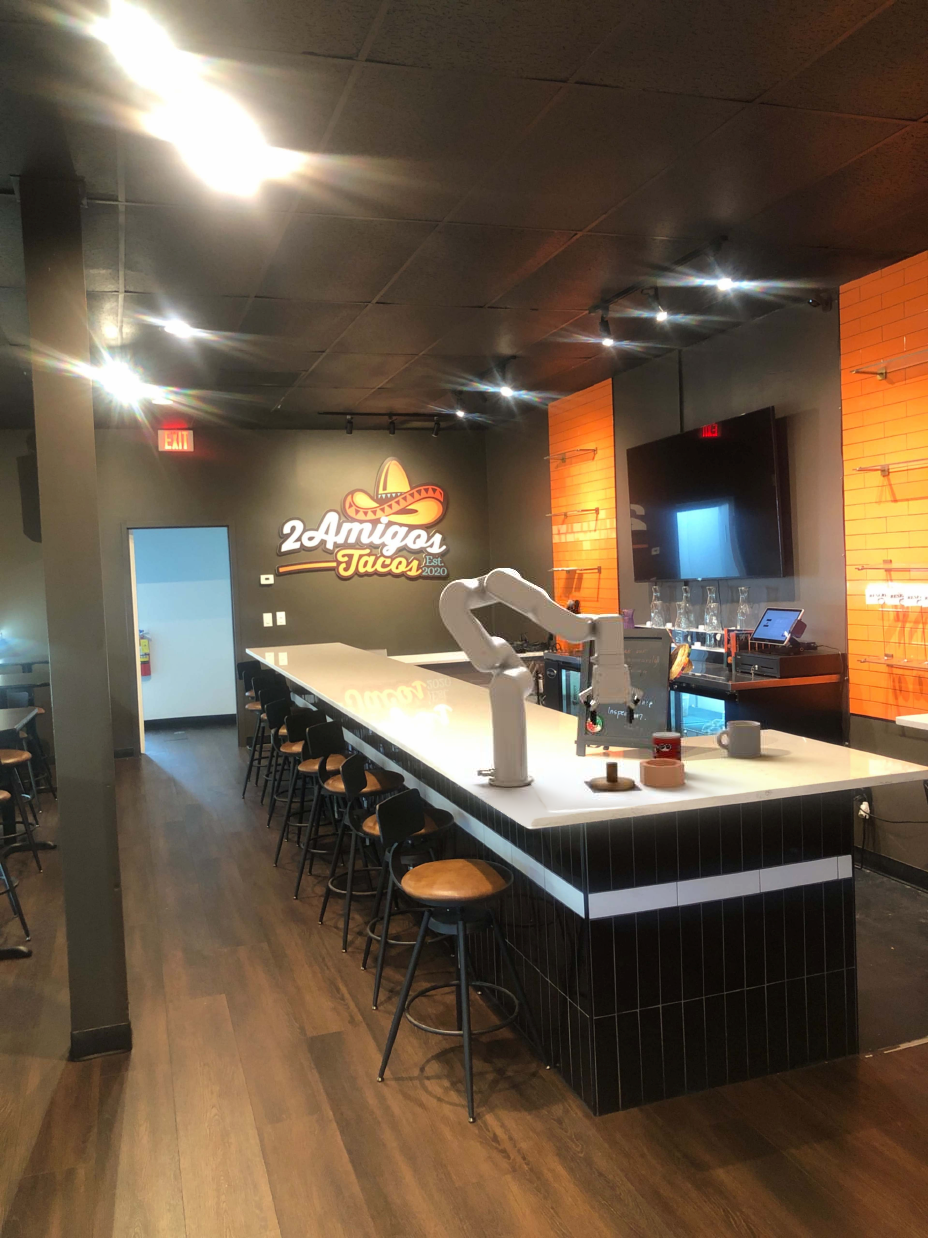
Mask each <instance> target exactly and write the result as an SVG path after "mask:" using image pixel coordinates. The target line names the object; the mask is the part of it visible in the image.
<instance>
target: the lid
mask: <svg viewBox="0 0 928 1238" xmlns="http://www.w3.org/2000/svg"><path fill="white" fill-rule="evenodd" d="M605 767H606V768H605V769H606V770H605V771H606V773H605V774H606V776H599V777H593V778H591V779H589V781H590V787H591V788H593V789H597V790H603V791H623V792H625V791H624V790H629V789H632V788H634V787H635V784H636V781H635V780H634V779H632V778H629V777H624V776H618V775H619V774H618V773H619V772H618V771H619V770H618V762H616V761H607V762H605Z"/></svg>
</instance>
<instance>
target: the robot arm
mask: <svg viewBox="0 0 928 1238" xmlns="http://www.w3.org/2000/svg"><path fill="white" fill-rule="evenodd" d="M499 602H500V603H502V604H504V605H506V606H508V607H509V608H512V609H513V610H515V611H516V612H519V613H520V614H523V616H526V617H528V618H529V619H530V620H531V621H532V622H534V623H535V624H537V625H538V626H540V627H541V628H543V629H544V630H546V631H548V632H549V633H551V634H552V635H554V636H556V637H557V638H559V639H562V640H563V641H565V642H568V643H570V644H576V645H577V644H581V643H584V642H587V641H591V640H592V641H593V640H594V647H595V651H594V652H595V654H594V656H591V657H590V658H589V660H590V662H591V663H595V665H593V668H592V674H591V676H592V677H591V686H590V687H589V688H587V689H585V690H584V691H581V692H580V693H579V694H578V697H579V699H580V700H581V702H582V704H583V705H584V706H585V707H586V708H587V709H588V710H589V722H590V723H591V724H592V725H593V726H597V725H598V719H597V718H598V717H597V711H596V708H597V707H598V705H599V704H601V705H604V704H609V705H610V704H626V705H627V707H626V722H627V723H628V724H631V725H632V724H633V721H634V719H635V713H634V711H635V708H636V706H638V704H639V703H640V702H641V699H642V696H643V695H644V692H643V691H642V690H640V689H638V688H636V687H634V686H632V684H631V678H630V677H631V676H630V675H631V674H630V671H629V667H628V665H627V664H625V647H624V645H625V644H624V621H623V616H621V615H620V614H619V613H618V614H617V613H616V614H615V613H610V614H608V613H605V614H598V615H597V614H588V613H579V614H575V613H573V612H571V610H568V609H566V608H564V607H563V606H560V605H559V604H557V603H556V602H555V601H553V600H552V599H551V598H550V597H549V595H548V593H547V592H546V591H545V590H544V589H543V588H541V587H538V586H537V585H536V584H535V585H534V584H533V583H531V582H529V581H527V580H526V579H523V578H522V576H521V575H520V573H518V571H516V570H514V569H512V568H495V569H493V570H492V571H490V572H489V573H488V574H486V575H483V576H479V577H476V578H472V579H458V580H455V581H451V583H449V584H447V586H446V587H445V588H444V589H443V591H442V593H441V595H440V599H439V603H438V605H439V607H438V609H439V615H440V618H441V620H442V622H443V624H444V626H445V628H446V629H447V630H448V631H449V633H450V634H451V635H452V637H453V638H454V640H455V641H456V642H457V644H458V646H459V648H461V650H462V651H463V652H464V654H465V655H466V657H467V659H468V660H469V661H470V663H471V664H472V666H473V667H474V668H475V669H476V670H477V671H479V672H481V673H491V674H492V675H493V677H492V679H491V681H490V684H489V688H488V695H489V702H490V708H491V723H492V724H491V725H492V750H493V751H492V752H493V756H492V757H493V764H491V767H488V768H485V769H484V768H477V770H476V771H477V774H476V775H477V777H482V778H483V777H485V778H486V777H488V783H489V785H492V786H496V787H503V788H505V787H506V788H509V787H510V788H513V787H514V788H515V787H523V786H524V787H525V786H528V785H530V784H531V783H532V782H533V781H534V777H533V775H530V774H529V771H528V767H529V766H528V738H527V737H528V735H527V734H528V732H527V712H526V707H525V701H524V700H525V698H527V697H528V696H530V694H531V693H532V692H533V690H534V683H535V682H534V681H535V680H534V677H533V675H532V673H531V671H530V670H529V669H528V667H527V666H526V664H525V663H524V661H523V660H522V659H521V658H520V656H519V655H518V654H517V652H516V651H515V650H514V648H513V647H512V646H511V645H510V643H509V642H508V641H506V640H505V639H503V638H501V637H497V636H491V635H490V634H489V633H488V632H487V630H486V629H485V628H484V626H483V624H482V623H481V622H480V621H479V620H478V619H477V618H476V617H475V616H474V614H473V613H472V612H471V610H473V609H478V608H481V607H485V606H489V605H492V604H496V603H499ZM632 693H634V694H635V697H634V698H633V699H632ZM589 695H591V699H592V700H591V702H589V701H588V700H587V696H589Z"/></svg>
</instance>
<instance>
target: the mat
mask: <svg viewBox="0 0 928 1238" xmlns="http://www.w3.org/2000/svg"><path fill="white" fill-rule="evenodd" d="M583 783H584V784H585V785H586V786H587V787H588V788H589V789H590V790H591V792H592V793H594V794H595V793H598V794H600V793H601V794H602V793H617V792H620V793H621V792H623V793H624V792H639V791H640V792H642V791H643V789H642V788H640V787H639V785H638V784H636V783H635V787H634V788H632V789H629V790H624V791H603V790H597V789H593V788H591V787H590V780H584V781H583Z"/></svg>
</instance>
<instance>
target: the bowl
mask: <svg viewBox="0 0 928 1238" xmlns="http://www.w3.org/2000/svg"><path fill="white" fill-rule="evenodd" d="M685 774H686V773H685V763H684V762H682V760H681V761H679V760H673V759H665V758H661V759H653V758H647V759H644V760H641V761H639V782H640V783H641V784H642V785H643V786H646V787H647V786H648V787H652V788H677V787H679V786H682V785H684V784H685V783H686V782H685V779H686V777H685V776H686V775H685Z"/></svg>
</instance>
